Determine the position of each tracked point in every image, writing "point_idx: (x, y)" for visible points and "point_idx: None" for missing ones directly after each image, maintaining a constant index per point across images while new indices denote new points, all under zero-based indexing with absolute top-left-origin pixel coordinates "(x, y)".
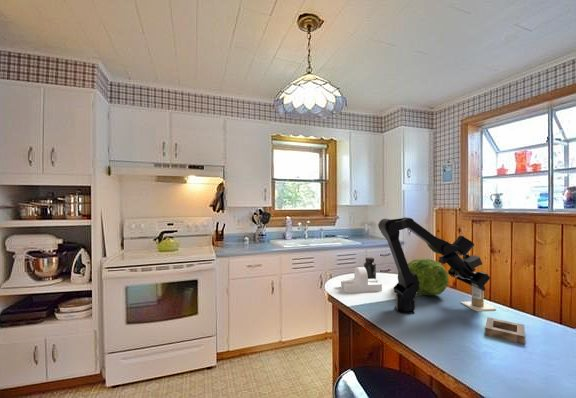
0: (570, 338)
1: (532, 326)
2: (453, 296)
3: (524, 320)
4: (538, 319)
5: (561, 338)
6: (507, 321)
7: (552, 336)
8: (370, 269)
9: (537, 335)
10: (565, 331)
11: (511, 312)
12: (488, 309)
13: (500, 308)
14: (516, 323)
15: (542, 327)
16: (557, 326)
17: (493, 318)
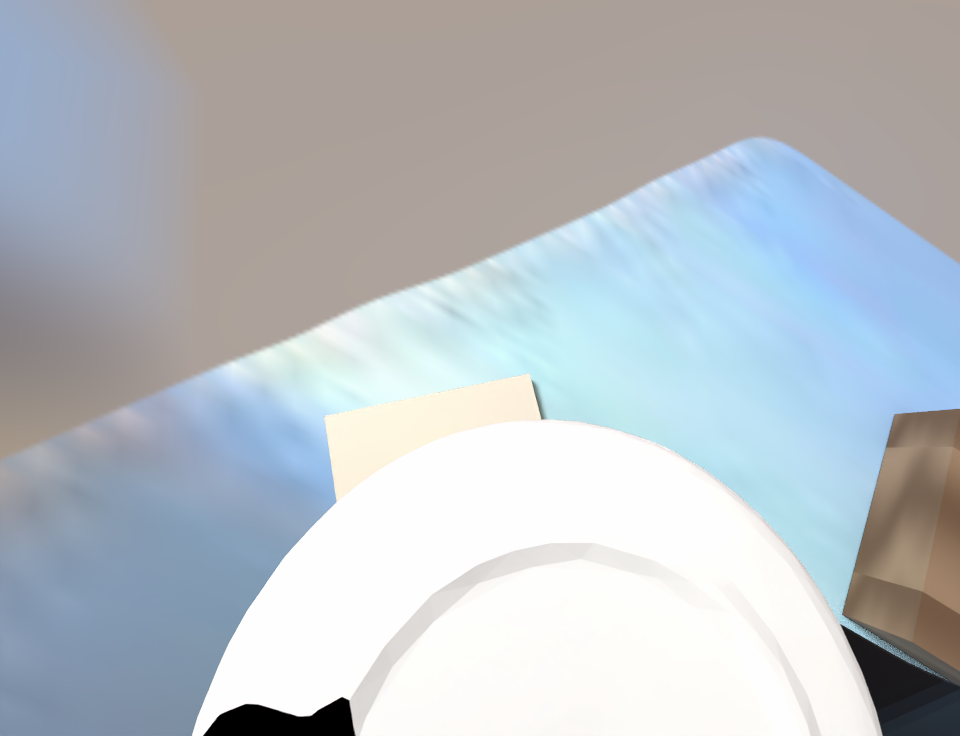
0: (891, 219)
1: (788, 307)
2: (109, 644)
3: (699, 292)
4: (661, 195)
5: (907, 263)
6: (943, 503)
7: (898, 291)
8: None
9: (915, 365)
10: (806, 178)
11: (560, 286)
12: None
13: (481, 318)
14: (957, 453)
15: (786, 258)
16: (746, 168)
17: (922, 596)
